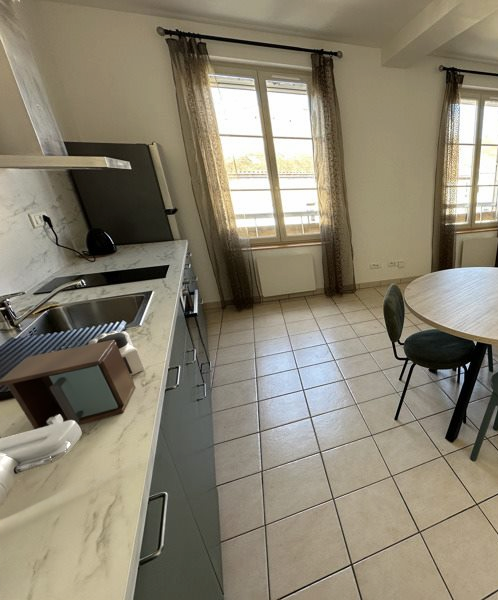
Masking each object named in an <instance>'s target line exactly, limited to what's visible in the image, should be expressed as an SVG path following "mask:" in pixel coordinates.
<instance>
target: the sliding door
mask: <svg viewBox="0 0 498 600" xmlns="http://www.w3.org/2000/svg"><path fill="white" fill-rule="evenodd" d="M49 377H50V379H51V381H52V383H53V385H52V386H51V387H50V389H51V391H52V392H53V394H54V396H55V398H56V399H57V401H58V403H59V405H60V407H61V408H62V410H63V412H64V414H65V415H66V417H67V419H68V420H73V421H75V422H76V423H77V424H78V423H79V422H80V419H81V417H85V416H89V415H93V414H96V413H100V412H104V411H108V410H111V409H115V408H117V407H118V405H117V403H116V401H115V399H114V397H113V395H112V393H111V390H110V388H109V386H108V384H107V382H106V380H105V378H104V376H103V374H102V372H101V370H100V368H99V366H98V365H94V366H89V367H85V368H80V369H76V370H71V371H67V372H62V373H57V374H53V375H50V376H49Z"/></svg>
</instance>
